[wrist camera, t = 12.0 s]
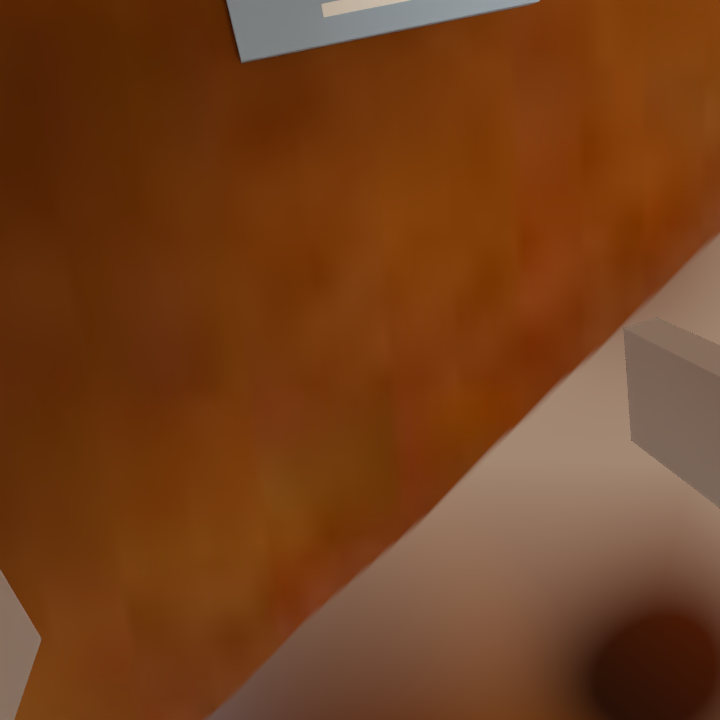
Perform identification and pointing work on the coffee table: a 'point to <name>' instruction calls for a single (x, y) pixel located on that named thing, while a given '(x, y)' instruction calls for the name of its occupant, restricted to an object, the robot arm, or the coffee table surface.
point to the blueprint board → (339, 21)
